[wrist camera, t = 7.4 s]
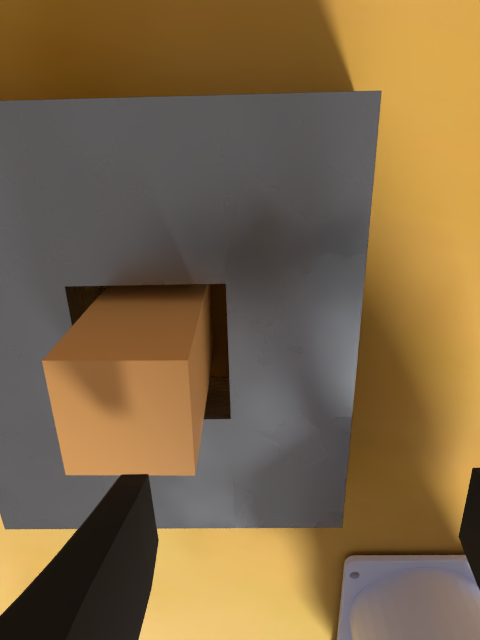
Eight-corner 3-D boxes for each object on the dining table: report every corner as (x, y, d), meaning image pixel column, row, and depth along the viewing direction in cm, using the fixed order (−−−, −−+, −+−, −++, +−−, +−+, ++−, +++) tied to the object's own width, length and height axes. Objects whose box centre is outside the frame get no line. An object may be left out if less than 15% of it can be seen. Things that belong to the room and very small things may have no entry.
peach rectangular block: (212, 356, 19) (195, 475, 12) (127, 356, 19) (65, 475, 12) (209, 274, 17) (187, 360, 11) (117, 274, 17) (41, 360, 11)
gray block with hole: (329, 475, 21) (342, 527, 18) (36, 477, 22) (5, 529, 19) (356, 97, 15) (381, 90, 12) (-60, 108, 15) (-128, 104, 12)
